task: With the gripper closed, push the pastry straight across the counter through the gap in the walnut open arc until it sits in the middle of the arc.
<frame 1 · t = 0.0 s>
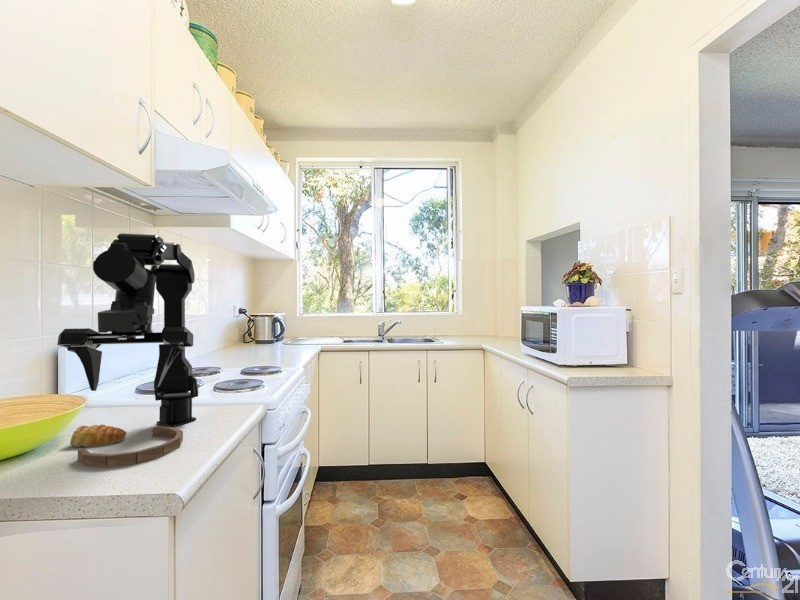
hand: (125, 388, 65), 15 cm above the countertop, tool pointing down, fingers open, 9 cm apart
pastry: (97, 443, 84), on the countertop
walnut open arc: (133, 449, 79), on the countertop
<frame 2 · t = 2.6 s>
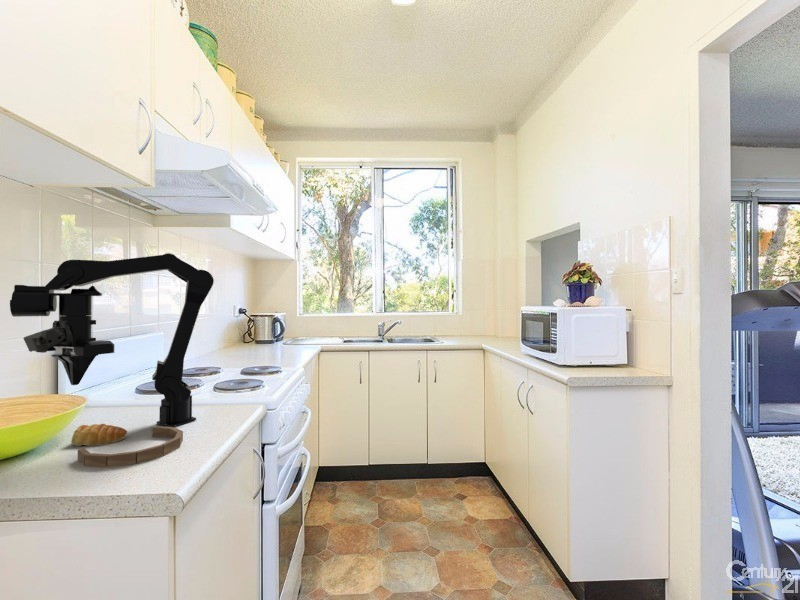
hand: (74, 384, 88), 12 cm above the countertop, tool pointing down, fingers closed
nothing on the countertop moved.
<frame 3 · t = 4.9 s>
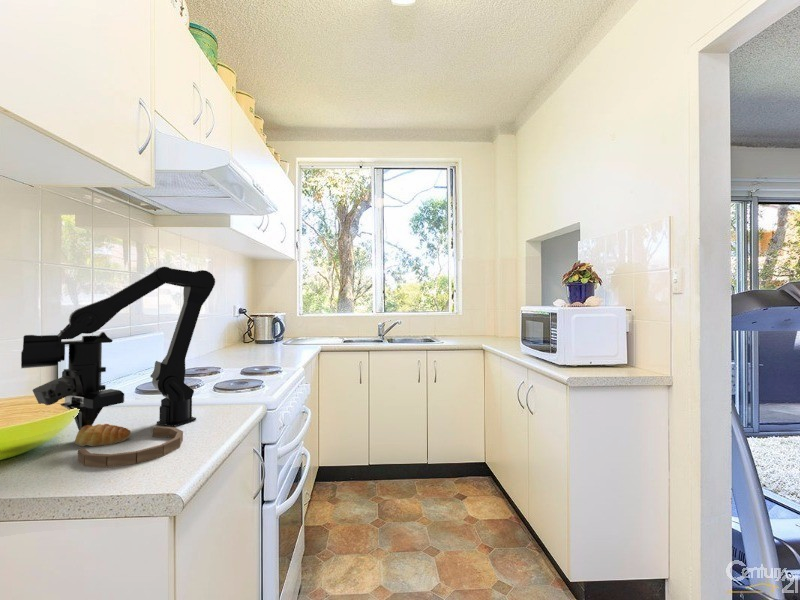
hand: (83, 434, 86), 1 cm above the countertop, tool pointing down, fingers closed
pastry: (101, 442, 84), on the countertop, touching gripper
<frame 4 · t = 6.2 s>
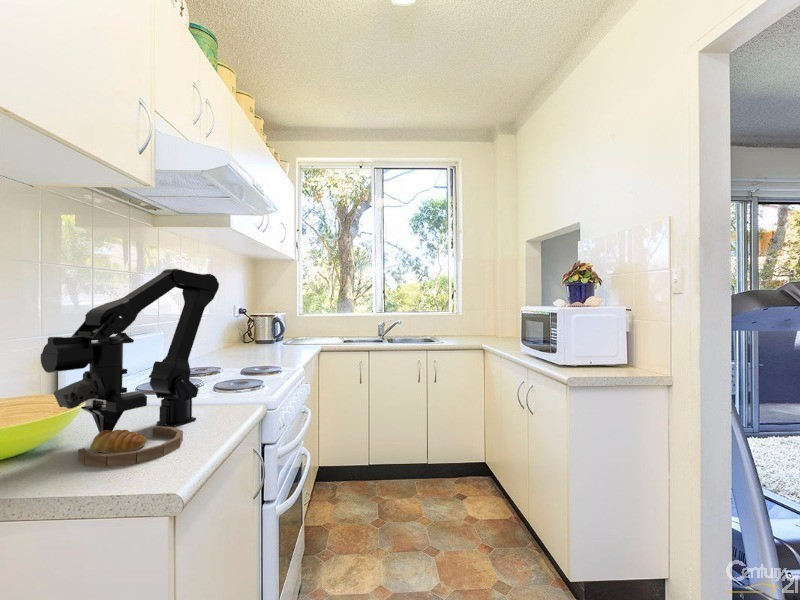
hand: (105, 438, 83), 1 cm above the countertop, tool pointing down, fingers closed
pastry: (118, 449, 81), on the countertop
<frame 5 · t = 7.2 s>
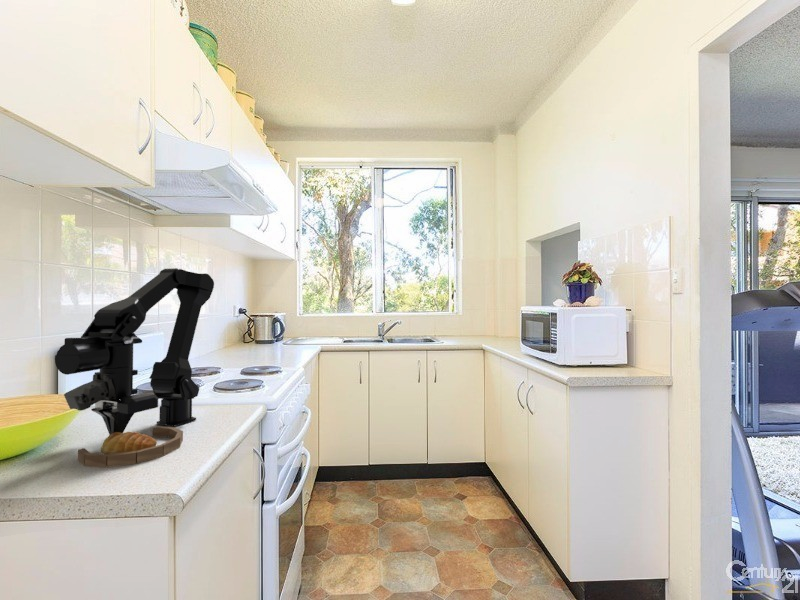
hand: (115, 440, 82), 1 cm above the countertop, tool pointing down, fingers closed
pastry: (128, 452, 79), on the countertop, touching gripper
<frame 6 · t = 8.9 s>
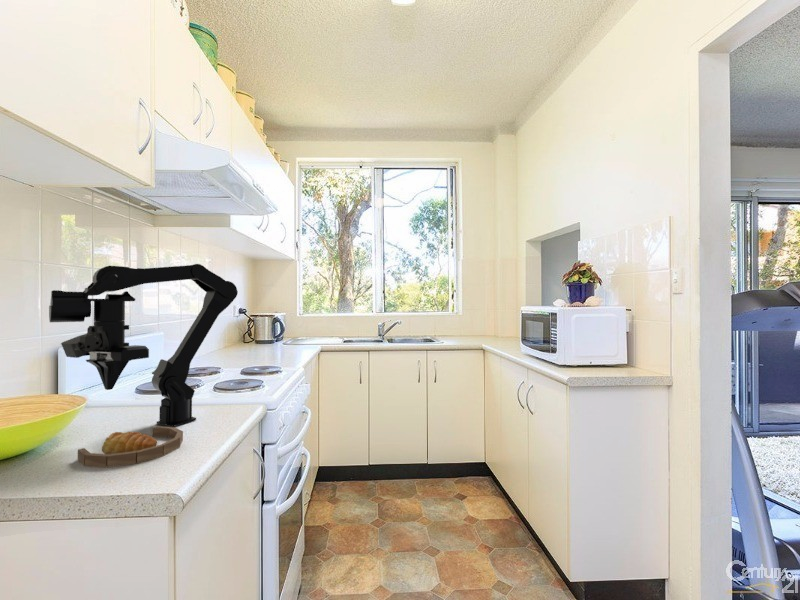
hand: (108, 389, 88), 10 cm above the countertop, tool pointing down, fingers closed
pastry: (129, 452, 79), on the countertop
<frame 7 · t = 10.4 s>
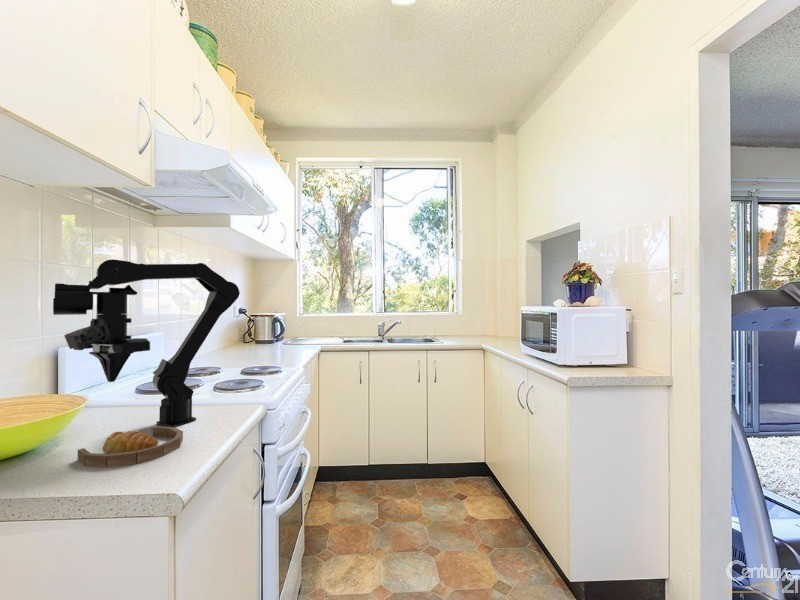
hand: (111, 381, 90), 12 cm above the countertop, tool pointing down, fingers closed
nothing on the countertop moved.
at the end: pastry inside the target area on the walnut open arc (0.7 cm from its centre), point -0.5 cm above the walnut open arc's base; pastry tilted 0° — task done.
